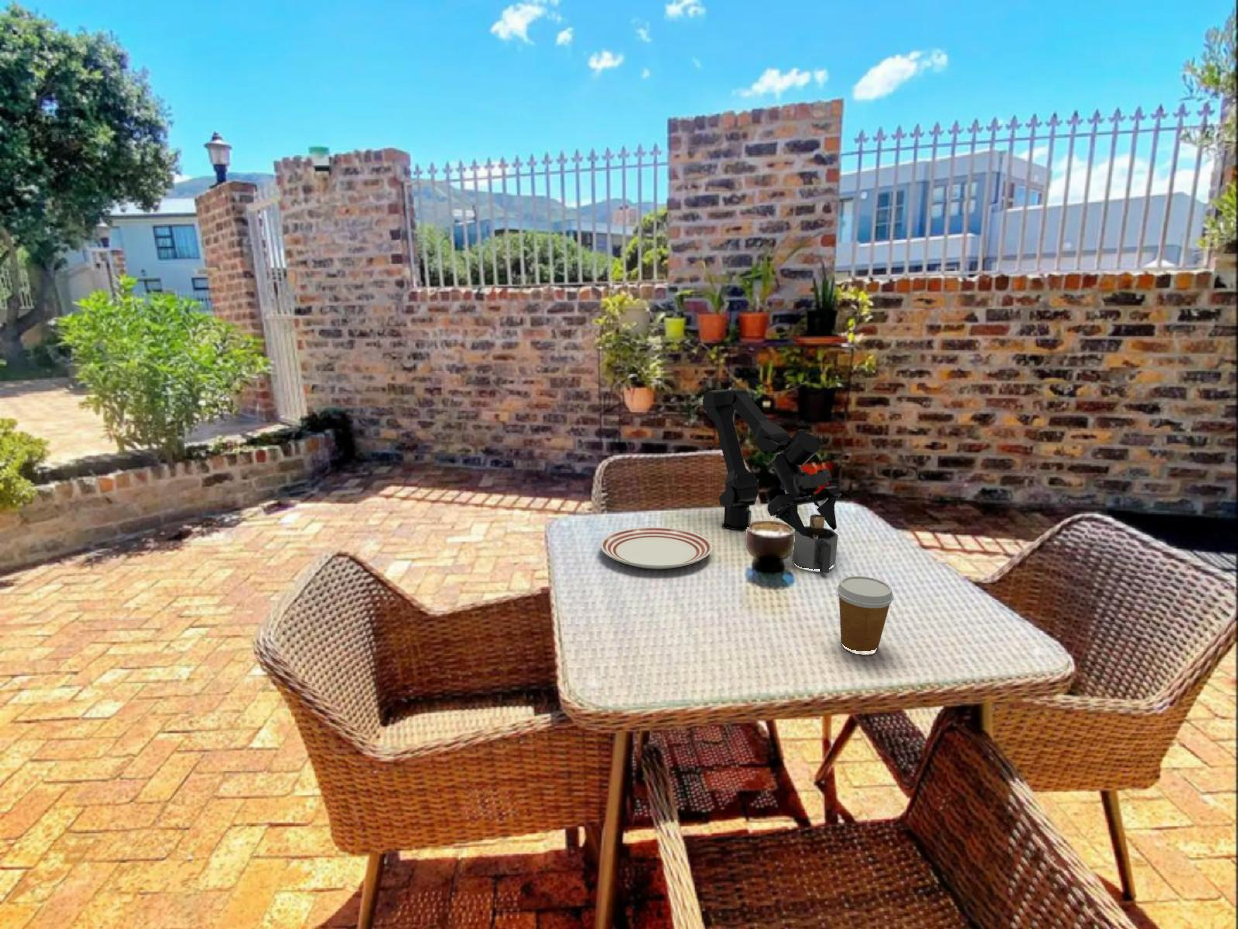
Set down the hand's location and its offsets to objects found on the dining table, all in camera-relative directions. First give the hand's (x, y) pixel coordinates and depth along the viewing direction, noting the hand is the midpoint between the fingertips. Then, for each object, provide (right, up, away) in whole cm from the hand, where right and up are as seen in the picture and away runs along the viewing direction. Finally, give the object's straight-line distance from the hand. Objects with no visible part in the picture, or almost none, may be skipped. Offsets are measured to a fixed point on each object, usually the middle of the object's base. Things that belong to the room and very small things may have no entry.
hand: (820, 532), depth 150 cm
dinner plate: (-38, -7, +9) cm, 39 cm away
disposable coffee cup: (-3, -18, -33) cm, 38 cm away
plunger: (-1, -7, +3) cm, 7 cm away
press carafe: (-1, -8, +2) cm, 9 cm away
